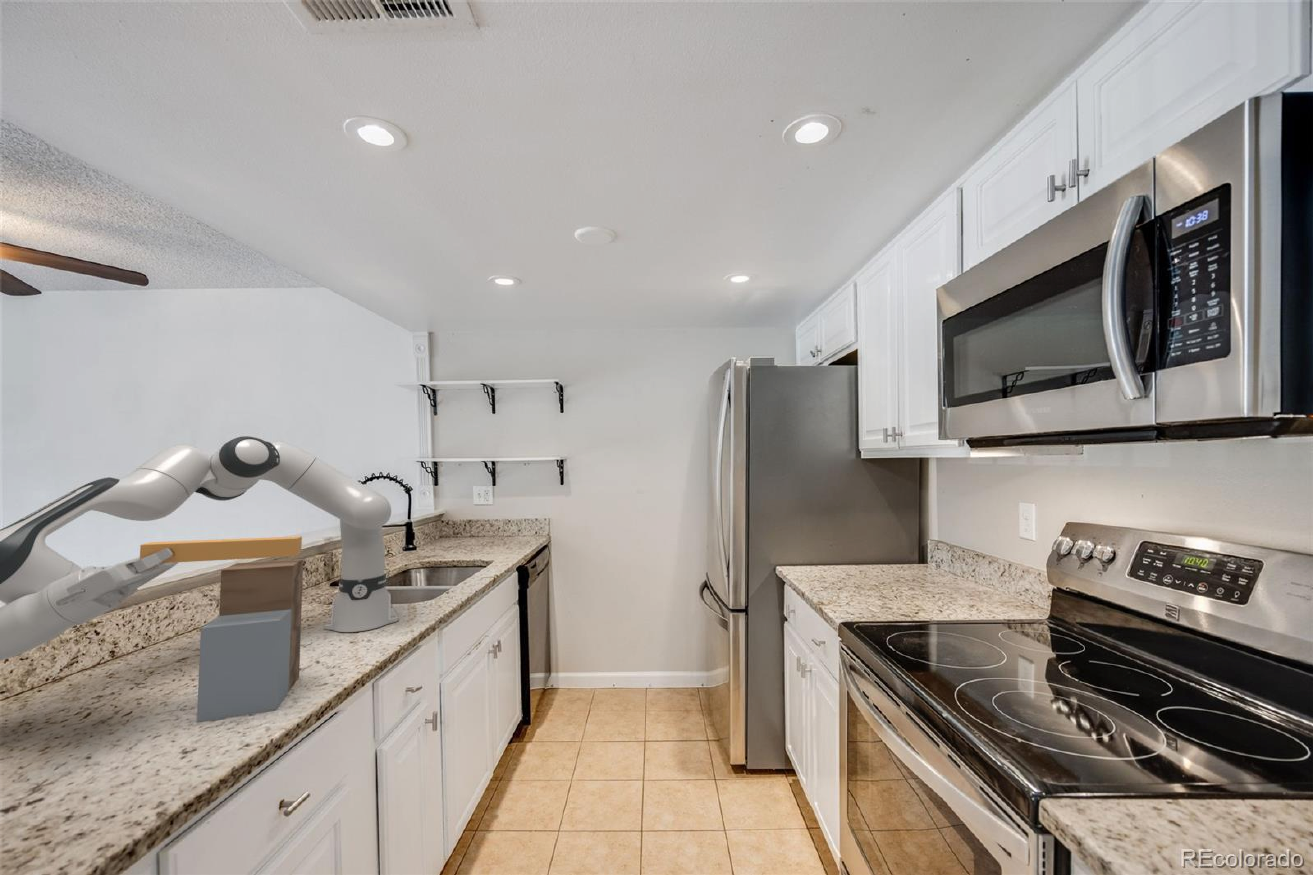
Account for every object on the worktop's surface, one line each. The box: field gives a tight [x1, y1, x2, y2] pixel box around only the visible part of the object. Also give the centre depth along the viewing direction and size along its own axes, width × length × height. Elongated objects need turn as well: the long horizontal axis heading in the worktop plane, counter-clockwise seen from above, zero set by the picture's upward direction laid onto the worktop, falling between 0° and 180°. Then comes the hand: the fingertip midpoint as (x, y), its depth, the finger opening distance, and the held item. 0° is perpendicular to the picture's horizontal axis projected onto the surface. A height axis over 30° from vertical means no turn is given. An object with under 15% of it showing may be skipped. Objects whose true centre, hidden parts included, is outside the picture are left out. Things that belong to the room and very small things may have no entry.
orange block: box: [139, 535, 303, 563], centre depth 98 cm, size 4×24×4 cm, turn 112°
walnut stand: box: [218, 558, 304, 693], centre depth 106 cm, size 8×12×26 cm, turn 112°
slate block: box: [196, 609, 291, 723], centre depth 98 cm, size 8×12×17 cm, turn 112°
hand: (178, 549), depth 95 cm, fingers closed on orange block, 3 cm apart
